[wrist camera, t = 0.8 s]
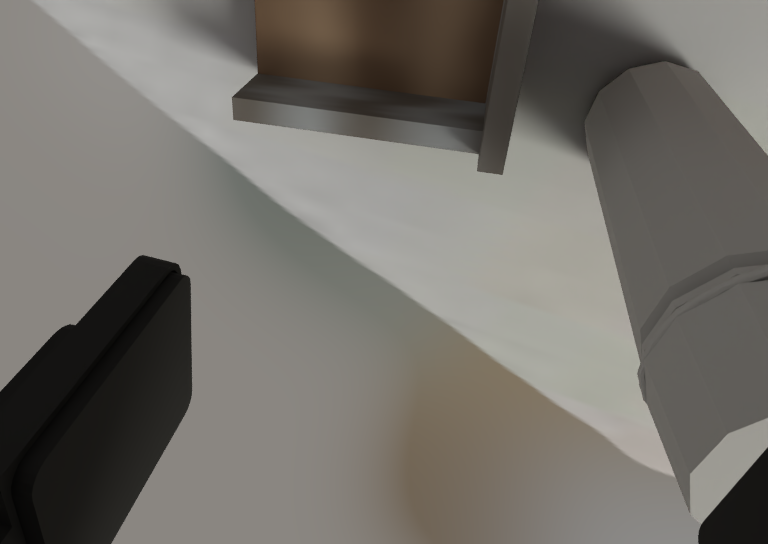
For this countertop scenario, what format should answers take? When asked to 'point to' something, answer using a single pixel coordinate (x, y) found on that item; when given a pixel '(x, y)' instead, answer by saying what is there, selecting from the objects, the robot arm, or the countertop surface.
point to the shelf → (393, 71)
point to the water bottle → (689, 267)
